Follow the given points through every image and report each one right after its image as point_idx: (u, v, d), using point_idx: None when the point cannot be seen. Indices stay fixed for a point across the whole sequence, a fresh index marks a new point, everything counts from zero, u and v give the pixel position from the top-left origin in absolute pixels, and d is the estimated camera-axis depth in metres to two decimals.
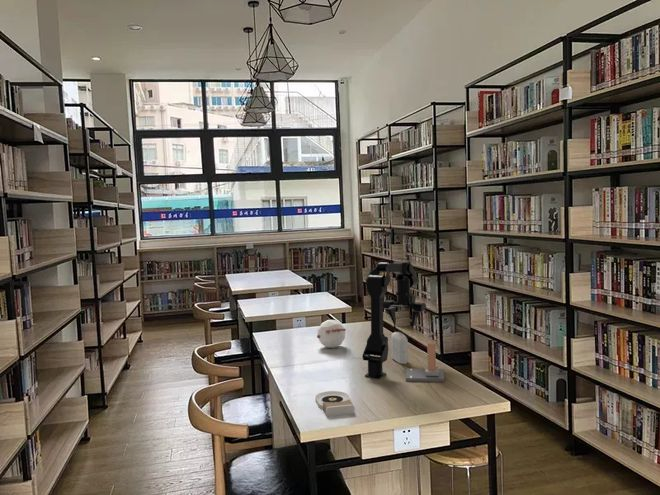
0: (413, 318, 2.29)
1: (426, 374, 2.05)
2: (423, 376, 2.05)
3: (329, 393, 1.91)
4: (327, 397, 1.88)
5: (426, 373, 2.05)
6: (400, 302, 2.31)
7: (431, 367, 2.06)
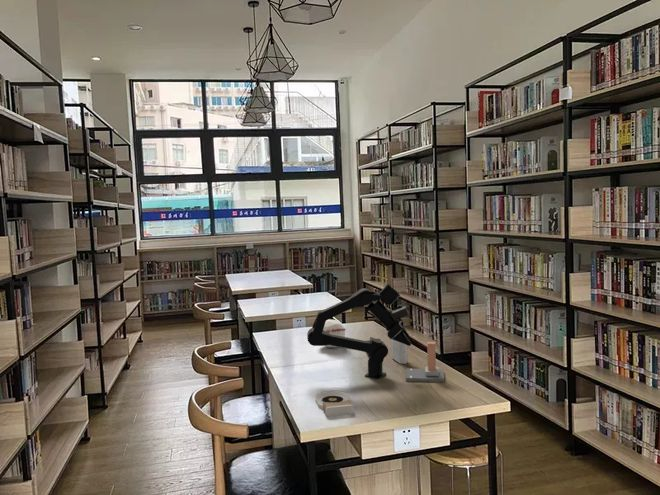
0: None
1: (426, 374, 2.05)
2: (423, 376, 2.05)
3: (330, 393, 1.91)
4: (327, 397, 1.87)
5: (426, 373, 2.05)
6: None
7: (431, 367, 2.06)
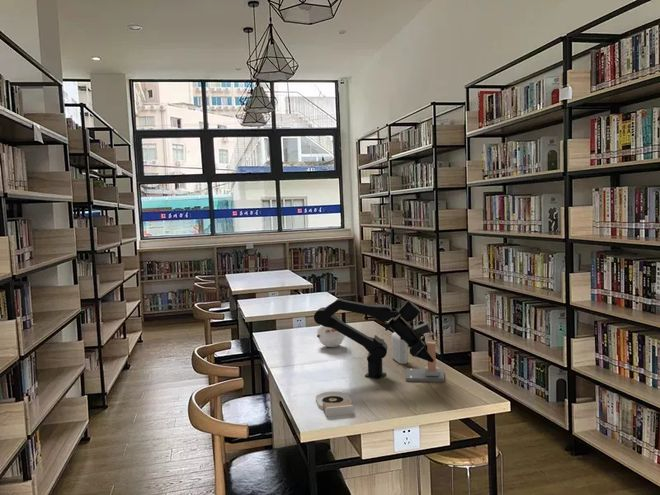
0: None
1: (426, 374, 2.05)
2: (423, 376, 2.05)
3: (330, 393, 1.91)
4: (327, 398, 1.87)
5: (426, 373, 2.05)
6: None
7: (431, 367, 2.06)
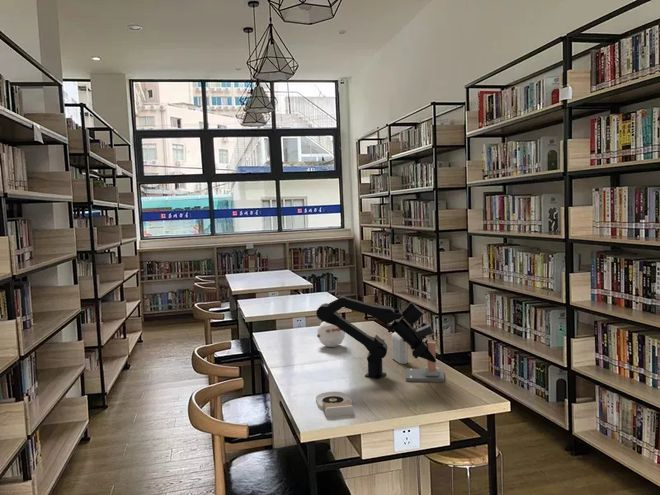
0: None
1: (426, 374, 2.05)
2: (423, 376, 2.05)
3: (330, 393, 1.91)
4: (327, 398, 1.87)
5: (426, 373, 2.05)
6: None
7: (431, 367, 2.06)
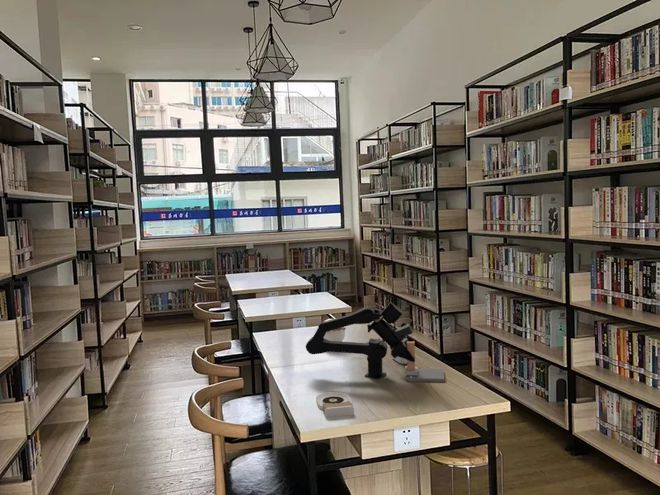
0: None
1: (405, 373, 2.06)
2: (423, 376, 2.05)
3: (331, 394, 1.90)
4: (328, 398, 1.87)
5: (405, 373, 2.06)
6: None
7: (410, 367, 2.07)
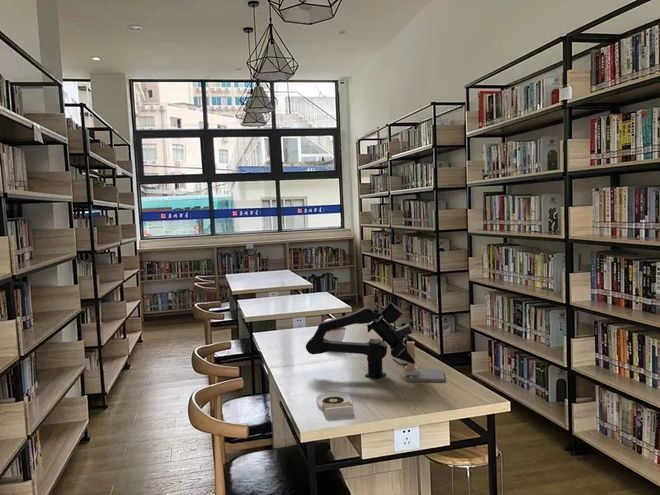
0: None
1: (405, 373, 2.06)
2: (423, 376, 2.05)
3: (331, 394, 1.90)
4: (328, 398, 1.86)
5: (405, 373, 2.06)
6: None
7: (410, 367, 2.07)
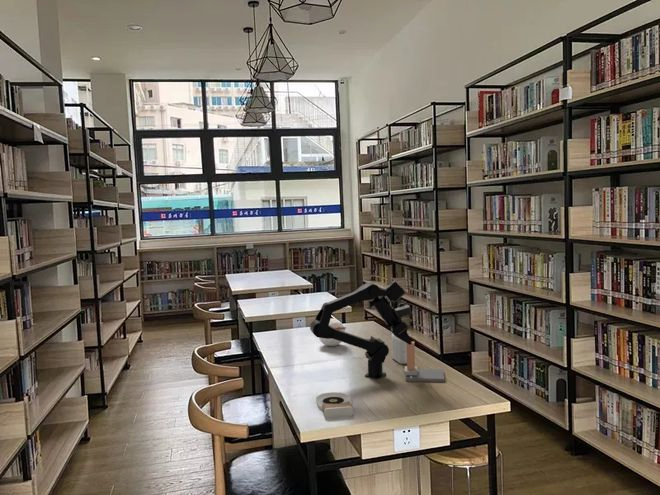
0: (401, 339, 2.06)
1: (405, 373, 2.06)
2: (423, 376, 2.05)
3: (331, 394, 1.90)
4: (328, 398, 1.86)
5: (405, 373, 2.06)
6: (387, 324, 2.11)
7: (410, 367, 2.07)
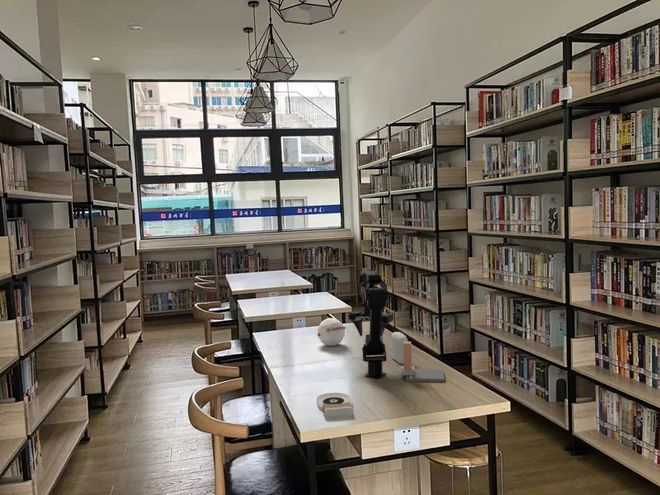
0: None
1: (401, 373, 2.06)
2: (423, 376, 2.05)
3: (331, 394, 1.90)
4: (328, 399, 1.86)
5: (402, 373, 2.06)
6: (366, 314, 2.22)
7: (406, 367, 2.08)
